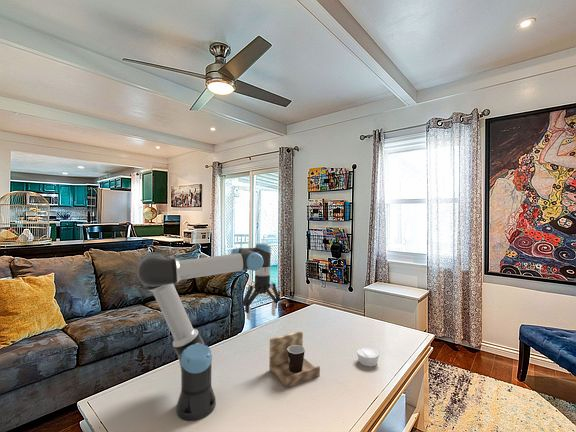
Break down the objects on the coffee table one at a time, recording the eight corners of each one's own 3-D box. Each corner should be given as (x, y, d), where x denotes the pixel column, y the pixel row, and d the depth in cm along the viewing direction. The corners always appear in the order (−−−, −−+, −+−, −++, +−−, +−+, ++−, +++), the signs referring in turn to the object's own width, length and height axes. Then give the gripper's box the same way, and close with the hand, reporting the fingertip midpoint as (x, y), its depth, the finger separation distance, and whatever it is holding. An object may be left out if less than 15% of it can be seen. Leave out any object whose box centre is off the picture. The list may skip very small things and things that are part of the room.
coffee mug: (303, 375, 135) (303, 354, 135) (285, 373, 136) (285, 352, 136) (306, 362, 146) (306, 343, 146) (289, 360, 148) (289, 341, 148)
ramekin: (353, 362, 152) (353, 352, 152) (363, 354, 160) (363, 345, 160) (372, 370, 144) (372, 360, 144) (382, 362, 152) (382, 352, 152)
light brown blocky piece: (286, 388, 129) (286, 353, 129) (269, 370, 143) (269, 338, 143) (319, 375, 139) (320, 343, 139) (300, 360, 153) (301, 330, 153)
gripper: (241, 278, 132) (240, 324, 132) (288, 274, 144) (286, 315, 145) (235, 275, 138) (234, 318, 139) (280, 271, 151) (279, 310, 151)
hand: (261, 317), depth 142 cm, fingers open, 13 cm apart
